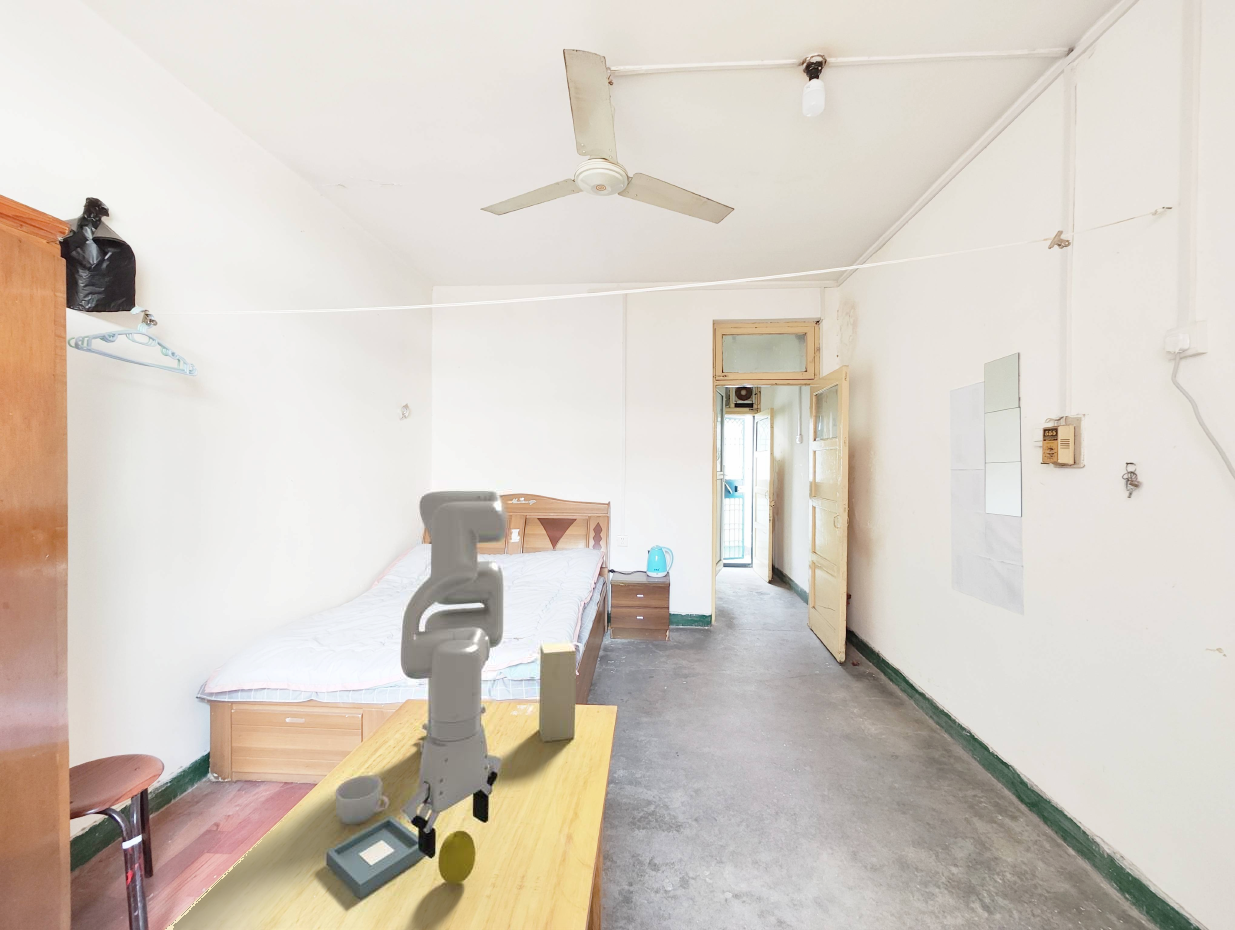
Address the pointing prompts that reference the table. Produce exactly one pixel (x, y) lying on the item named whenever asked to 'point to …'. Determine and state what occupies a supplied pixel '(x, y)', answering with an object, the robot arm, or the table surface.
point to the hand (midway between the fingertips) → (455, 835)
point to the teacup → (359, 799)
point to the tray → (374, 856)
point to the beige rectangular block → (557, 691)
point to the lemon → (456, 857)
